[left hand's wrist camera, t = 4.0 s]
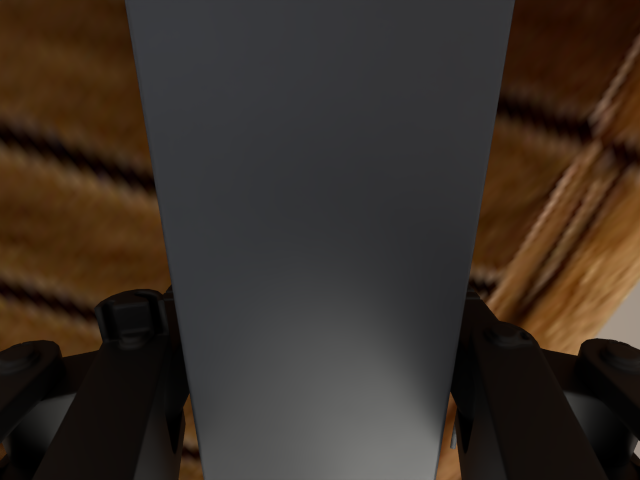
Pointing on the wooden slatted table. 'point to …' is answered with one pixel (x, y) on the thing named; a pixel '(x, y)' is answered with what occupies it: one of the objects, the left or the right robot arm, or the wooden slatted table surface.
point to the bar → (319, 219)
